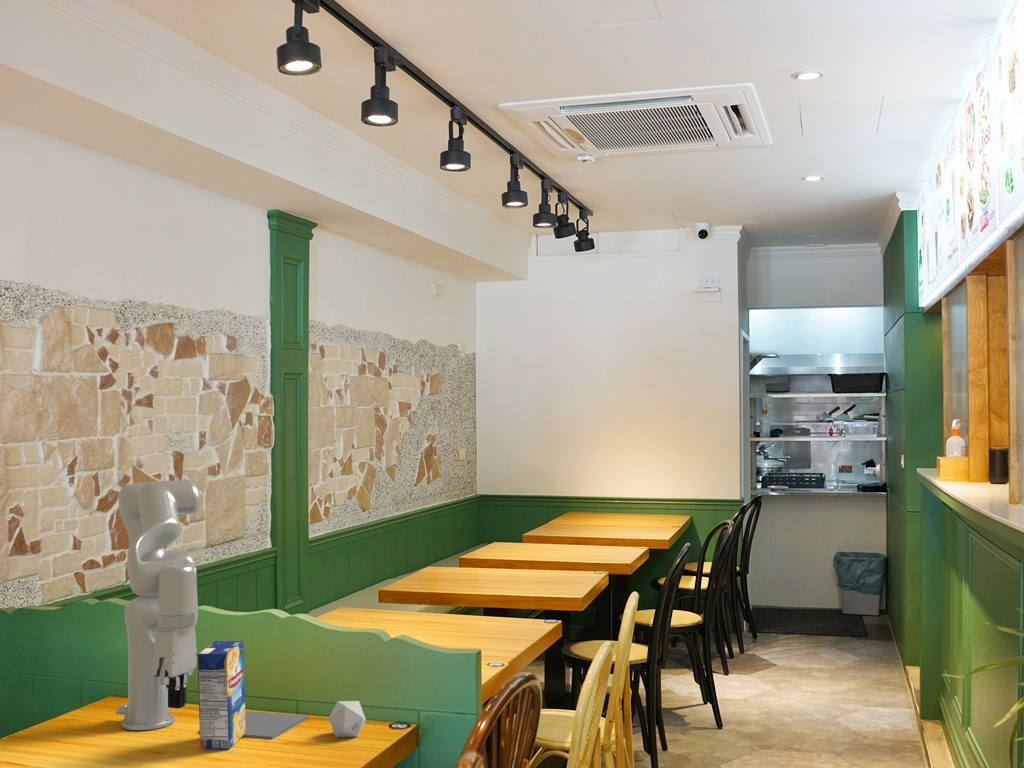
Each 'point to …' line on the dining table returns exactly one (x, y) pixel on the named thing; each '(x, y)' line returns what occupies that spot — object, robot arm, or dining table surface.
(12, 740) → the dining table surface
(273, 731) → the mat
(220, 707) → the beverage box
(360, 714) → the die
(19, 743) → the dining table surface
